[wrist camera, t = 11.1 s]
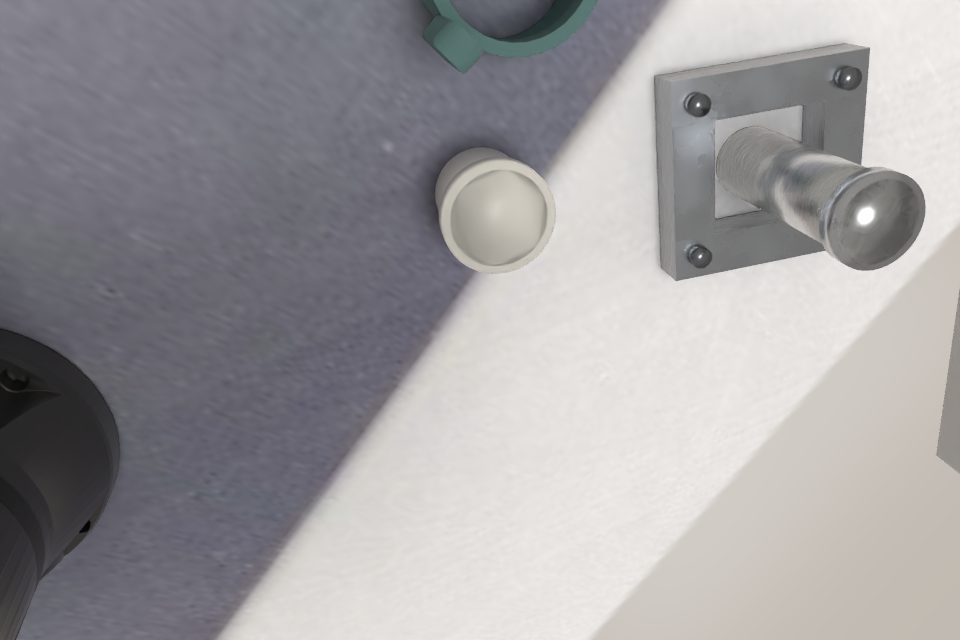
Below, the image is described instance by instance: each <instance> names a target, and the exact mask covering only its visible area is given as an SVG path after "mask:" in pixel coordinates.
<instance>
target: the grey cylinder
mask: <svg viewBox="0 0 960 640" xmlns="http://www.w3.org/2000/svg"><path fill="white" fill-rule="evenodd" d="M716 168H717V175H718V178H719V181H720V182H721V184H722V185H723V187H724V188H726V189H727V190H728V191H730V192H732V193H733V194H735V195H737V196H739V197H740V198H742V199H744V200H746V201H747V202H749V203H751V204H753V205H755V206H756V207H758V208H760V209H762V210H763V211H765V212H767V213H769V214H770V215H772V216H774V217H776V218H778V219H779V220H781V221H783V222H785V223H786V224H788V225H790V226H792V227H794V228H795V229H797V230H799V231H801V232H802V233H804V234H806V235H808V236H809V237H811V238H813V239H815V240H817V241H818V242H820V243H822V244H823V246H824V248H825V250H826V251H827V252H828V253H829V254H830V255H831V256H832V257H833V258H835V259H837V260H838V261H840V262H842V263H843V264H845V265H847V266H849V267H851V268H853V269H857V270H863V271H864V270H875V269H879V268H882V267H884V266H887V265H889V264H891V263H892V262H894V261H895V260H897V259H898V258H899V257H901V256H902V255H903V254H904V253H905V252H906V251H907V250H908V249H909V248H910V246H911V245H912V244H913V243H914V241H915V240H916V238H917V236H918V234H919V232H920V230H921V228H922V225H923V221H924V217H925V199H924V195H923V192H922V190H921V188H920V187H919V185H918V184H917V183H916V182H915V181H914V180H913V179H912V178H910V177H908V176H907V175H904V174H902V173H899V172H896V171H893V170H891V169H888V168H884V167H871V168H866V167H864V166H861V165H858V164H856V163H853V162H851V161H848V160H846V159H843V158H840V157H838V156H835V155H833V154H830V153H827V152H825V151H822V150H820V149H817V148H814V147H812V146H809V145H807V144H804V143H801V142H799V141H796V140H794V139H791V138H789V137H786V136H783V135H781V134H778V133H776V132H773V131H770V130H768V129H765V128H762V127H758V126H752V127H747V128H743V129H741V130H739V131H737V132H736V133H734V134H733V135H732V136H730V137H729V138H728V139H727V141H726V142H725V143H724V145H723V146H722V148H721V150H720V152H719V155H718V158H717V166H716Z"/></svg>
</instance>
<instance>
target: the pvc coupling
mask: <svg viewBox="0 0 960 640" xmlns="http://www.w3.org/2000/svg"><path fill="white" fill-rule="evenodd" d="M435 201H436V205H437V208H438V211H439V225H440V229H441V232H442V235H443V237H444V240H445V242H446V244H447V245H448V247H449V249H450V251H451V252H452V253H453V255H454V256H455V257H456V258H457V259H458V260H459V261H460V262H462V263H463V264H464V265H466V266H468V267H469V268H471V269H474V270H476V271H480V272H483V273H491V274H499V273H506V272H510V271H514V270H516V269H519V268H521V267H523V266H525V265H526V264H528V263H529V262H531V261H532V260H533V259H534V258H536V257H537V256H538V255H539V254H540V252H541V251H542V250H543V249H544V247H545V246H546V244H547V243H548V241H549V239H550V237H551V234H552V232H553V229H554V224H555V217H556V212H555V203H554V199H553V196H552V193H551V191H550V189H549V187H548V185H547V184H546V182H545V181H544V180H543V179H542V178H541V176H539V175H538V174H537V173H536V172H535V171H534V170H533V169H532V168H531V167H529V166H528V165H526V164H525V163H523V162H521V161H518V160H516V159H512V158H509V157H508V156H507V155H506V154H504V153H502V152H500V151H498V150H495V149H492V148H486V147H478V148H471V149H468V150H465V151H462V152H461V153H459V154H457V155H456V156H454V157H453V158H452V159H451V160H449V161H448V162H447V164H446V165H445V166H444V167H443V169H442V170H441V172H440V174H439V176H438V179H437V182H436V187H435Z"/></svg>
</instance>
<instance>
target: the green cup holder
mask: <svg viewBox="0 0 960 640" xmlns="http://www.w3.org/2000/svg"><path fill="white" fill-rule="evenodd" d="M422 2H423V4H424V6H425V7H426V8H427V9H428V10H429V11H430V12H431V13H432V14H433V15H434V16H435V17H434V18H433V20H432V21H431V22H430V24H429V25H428V26H427V27H426V29H425V30H424V31H423V38H424V39H425V40H426V41H427V42H428V43H429V44H430V45H431V46H432V47H433V48H434V49H435V50H436V51H437V52H438V53H439V54H440V55H441V56H442V57H443V58H444V59H445V60H446V61H447V62H448V63H449V64H451V65H452V66H453V67H454V68H456V69H457V70H458V71H460V72H461V73H463V74H464V73H466V72H467V71H468V70H469V69H470V67H471V66H472V65H473V64H474V63H475V62H476V61H477V60H478V59H479V58H480V56H481V55H482V54H483V51H485V52H488V53H491V54H494V55H497V56H504V57H527V56H531V55H536V54H540V53H543V52H545V51H547V50H550V49H552V48H554V47H556V46H558V45H559V44H561V43H562V42H564V41H565V40H567V39H568V38H569V37H570V36H571V35H573V34H574V33H575V32H576V31H577V30H578V29H579V28H580V27H581V26H582V24H583V23H584V22H585V21H586V19H587V18H588V17H589V15H590V14H591V12H592V10H593V9H594V7H595V5H596V3H597V2H598V0H556V1H555V2H554V4H553V6H552V7H551V9H550V10H549V11H548V12H547V13H546V14H545V15H544V17H543V18H542V19H541V20H540V21H538V22H537V23H536V24H534V25H533V26H532V27H531V28H529V29H527V30H525V31H523V32H521V33H519V34H517V35H514V36H510V37H507V38H500V39H496V38H491V37H488V36H486V35H483V34H481V33H480V32H478V31H476V30H475V29H473V28H472V27H471V26H470V25H469V24H468V23H467V22H465V21H464V20H463V19H462V18H461V16H460V15H459V14H458V12H457V11H456V10H455V8H454V7H453V5H452V4H451V1H450V0H422Z"/></svg>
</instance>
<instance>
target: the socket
mask: <svg viewBox="0 0 960 640" xmlns="http://www.w3.org/2000/svg"><path fill="white" fill-rule="evenodd" d="M869 53H870V48H869V47H863V46H857V45H851V44H846V43H845V44H840V45H834V46H828V47H822V48H816V49H810V50H804V51H799V52H793V53H787V54H781V55H775V56H769V57H764V58H758V59H752V60H746V61H740V62H734V63H729V64H723V65H717V66H711V67H705V68H699V69H693V70H688V71H682V72H676V73H670V74H664V75H658V76H655V105H656V134H657V163H658V192H659V221H660V250H661V268H662V269H663V270H664V271H665V272H666V273H668V274H669V275H670V276H671V277H672V278H673V279H674V280H675V281H679V280H684V279H689V278H694V277H698V276H703V275H708V274H713V273H718V272H723V271H728V270H733V269H737V268H742V267H747V266H752V265H757V264H762V263H767V262H772V261H777V260H781V259H786V258H791V257H796V256H801V255H806V254H811V253H816V252H821V251H825V248H824V246H823V244H822V243H820V242H818V241H817V240H815V239H813V238H811V237H809V236H808V235H806V234H804V233H802V232H801V231H799V230H797V229H795V228H794V227H792V226H790V225H788V224H786V223H785V222H783V221H781V220H779V219H778V218H776V217H774V216H772V215H770V214H769V213H767V212H765V211H763V210H761V211H756V212H751V213H746V214H741V215H736V216H731V217H726V218H720V219H715V140H714V120H720V119H725V118H731V117H736V116H742V115H747V114H753V113H759V112H764V111H770V110H775V109H781V108H786V107H792V106H797V105H803V104H804V106H803V129H802V143H804V144H807V145H809V146H812V147H814V148H817V149H820V150H822V151H825V152H827V153H830V154H833V155H835V156H838V157H840V158H843V159H846V160H848V161H851V162H853V163H856V164H858V165H861V159H862V146H863V133H864V120H865V106H866V93H867V80H868V67H869Z"/></svg>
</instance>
